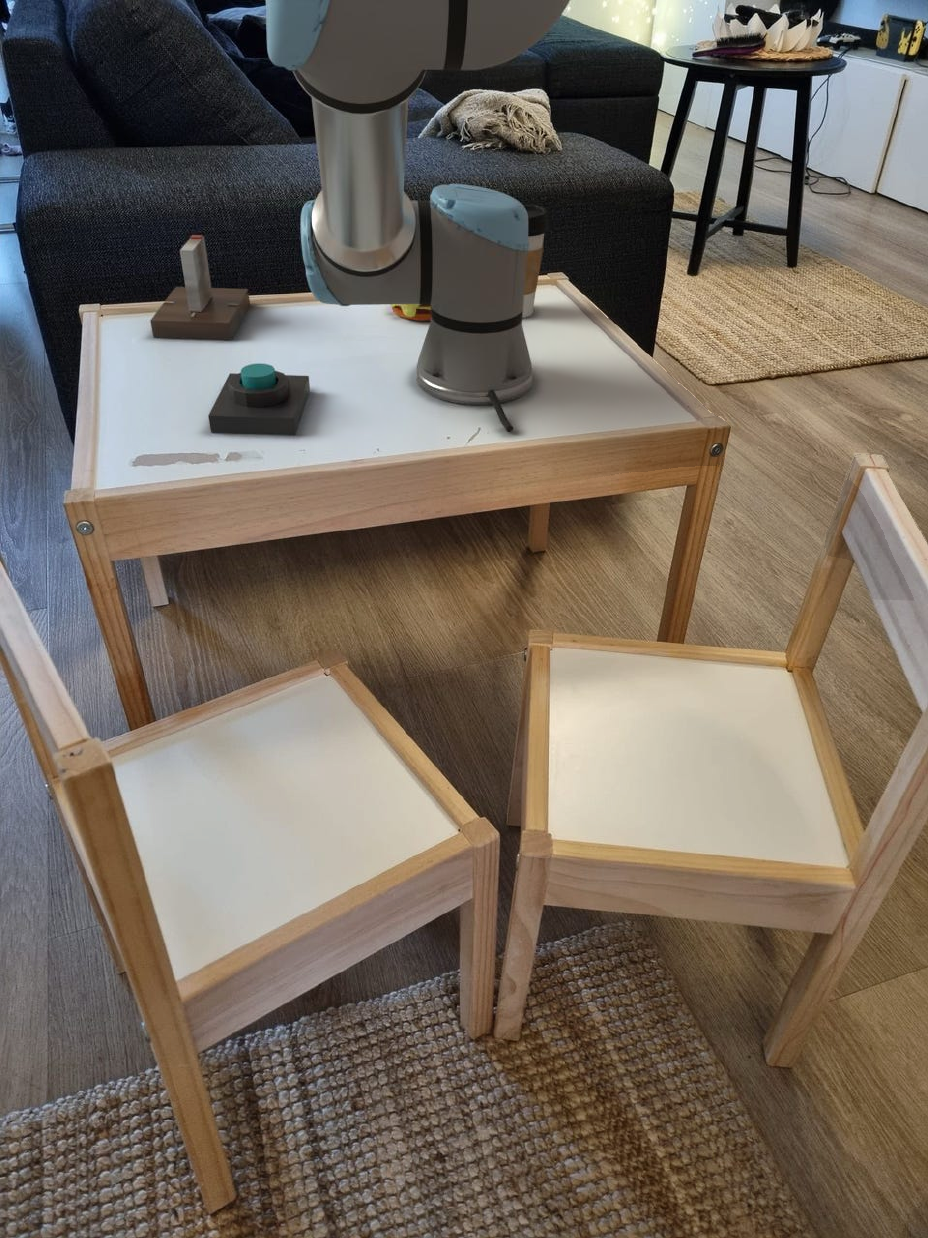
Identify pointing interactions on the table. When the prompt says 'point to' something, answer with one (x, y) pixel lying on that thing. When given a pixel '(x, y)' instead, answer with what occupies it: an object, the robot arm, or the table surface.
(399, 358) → the table surface
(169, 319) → the panel
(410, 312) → the cheeseburger
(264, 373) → the button
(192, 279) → the grey flat upright block
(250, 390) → the button block
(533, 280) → the coffee cup
